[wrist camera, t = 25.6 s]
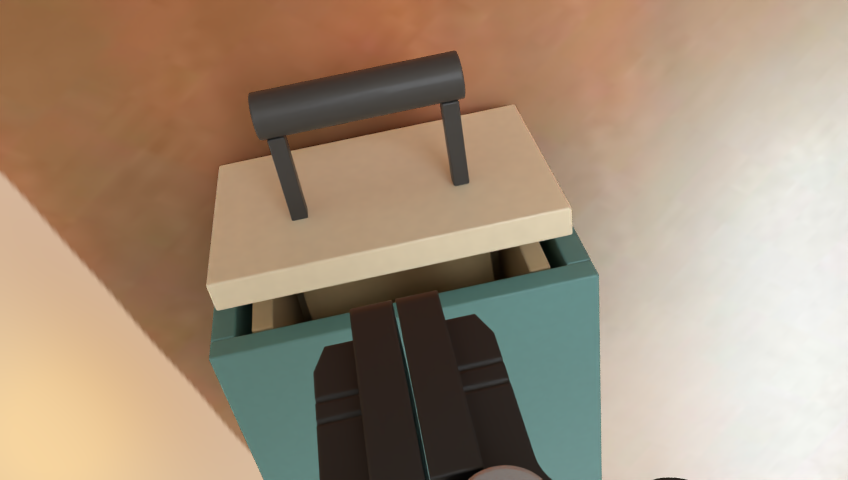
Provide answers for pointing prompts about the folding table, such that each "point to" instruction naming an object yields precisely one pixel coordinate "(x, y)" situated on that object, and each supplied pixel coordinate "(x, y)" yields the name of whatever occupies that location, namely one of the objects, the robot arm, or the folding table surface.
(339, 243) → the drawer
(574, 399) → the cabinet
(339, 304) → the tan rectangular block
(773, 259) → the folding table surface
